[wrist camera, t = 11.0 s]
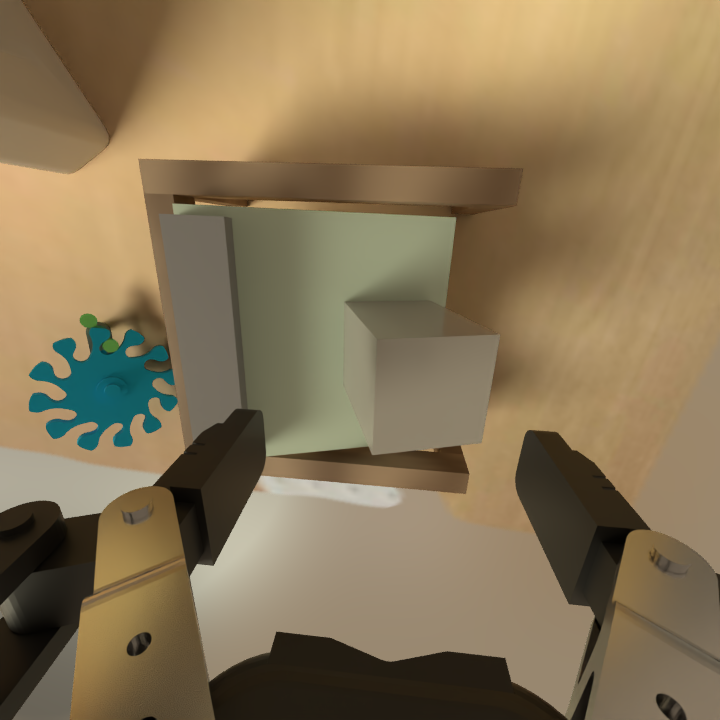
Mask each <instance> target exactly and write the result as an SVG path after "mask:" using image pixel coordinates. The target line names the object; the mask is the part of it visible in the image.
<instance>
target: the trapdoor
mask: <svg viewBox="0 0 720 720" xmlns="http://www.w3.org/2000/svg"><path fill="white" fill-rule="evenodd" d="M172 205H173V212H174V214H159V219H160V226H161V232H162V239H163V245H164V252H165V259H166V265H167V272H168V278H169V285H170V292H171V298H172V305H173V311H174V318H175V325H176V331H177V338H178V344H179V351H180V358H181V364H182V371H183V377H184V384H185V391H186V397H187V404H188V410H189V417H190V424H191V430H192V437H193V441H194V440H195V439H196V438H197V437H198V436H199V435H200V434H201V433H202V432H203V431H204V430H206V429H208V428H210V427H211V426H213V425H215V424H216V423H224V422H225V420H226V419H227V418H228V417H229V416H230V415H231V413H232V412H233V411H234V410H235V409H237V408H238V409H252V410H261V411H262V413H263V418H264V431H265V444H266V456H276V455H287V454H297V453H307V452H317V451H328V450H338V449H348V448H359V447H369V446H368V444H367V441H366V439H365V437H364V434H363V432H362V429H361V427H360V425H359V422H358V420H357V417H356V415H355V412H354V410H353V408H352V405H351V403H350V400H349V398H348V395H347V393H346V391H345V388H344V386H343V364H344V302H354V301H415V300H430V301H432V302H434V303H437V304H439V305H441V306H443V307H446V299H447V291H448V282H449V274H450V266H451V258H452V250H453V242H454V233H455V225H456V217H437V216H417V215H396V214H376V213H356V212H335V211H315V210H294V209H274V208H253V207H233V206H213V205H192V204H172Z"/></svg>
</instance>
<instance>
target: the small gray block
mask: <svg viewBox="0 0 720 720" xmlns="http://www.w3.org/2000/svg"><path fill="white" fill-rule="evenodd" d="M499 340H500V334H498V333H496V332H494V331H492V330H490V329H488V328H486V327H484V326H482V325H480V324H478V323H476V322H474V321H471V320H469V319H467V318H465V317H463V316H461V315H459V314H457V313H455V312H453V311H451V310H449V309H447V308H445V307H443V306H441V305H439V304H437V303H434V302H432V301H430V300H415V301H354V302H344V364H343V386H344V388H345V391H346V393H347V395H348V398H349V400H350V403H351V405H352V408H353V410H354V412H355V415H356V417H357V420H358V422H359V425H360V427H361V429H362V432H363V434H364V437H365V439H366V441H367V444H368V446H369V449H370V451H371V454H372V455H379V454H388V453H397V452H406V451H415V450H424V449H433V448H442V447H451V446H460V445H469V444H478V443H482V438H483V432H484V426H485V420H486V415H487V409H488V403H489V397H490V392H491V386H492V380H493V374H494V368H495V363H496V357H497V351H498V345H499Z"/></svg>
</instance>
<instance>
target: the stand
mask: <svg viewBox="0 0 720 720" xmlns="http://www.w3.org/2000/svg"><path fill="white" fill-rule="evenodd" d="M138 160H139V166H140V172H141V178H142V185H143V191H144V197H145V203H146V209H147V215H148V222H149V228H150V234H151V240H152V246H153V252H154V259H155V265H156V271H157V277H158V283H159V289H160V296H161V302H162V308H163V314H164V320H165V326H166V333H167V339H168V345H169V351H170V357H171V363H172V370H173V376H174V382H175V388H176V394H177V400H178V407H179V413H180V419H181V425H182V431H183V438H184V444H185V450H186V449H187V448H188V447H189V446H190V445H192V442H193V437H192V430H191V424H190V417H189V410H188V404H187V397H186V391H185V384H184V377H183V371H182V364H181V358H180V351H179V344H178V338H177V331H176V325H175V318H174V311H173V305H172V298H171V292H170V285H169V278H168V272H167V265H166V259H165V252H164V245H163V239H162V232H161V226H160V219H159V214H174V212H173V205H172V204H192V205H195V201H198V202H205V203H212V204H218V205H225V206H244V207H248V205H247V200H275V201H305V202H335V203H365V204H395V205H425V206H452V213H451V214H477V213H482V212H487V211H492V210H497V209H502V208H507V207H512V206H517V200H518V194H519V189H520V183H521V177H522V172H523V169H513V168H473V167H434V166H395V165H356V164H317V163H277V162H238V161H199V160H160V159H138ZM261 475H262V476H273V477H285V478H296V479H307V480H318V481H329V482H340V483H351V484H363V485H374V486H385V487H396V488H408V489H419V490H429V491H440V492H452V493H463V494H466V490H467V484H468V479H469V471H468V468H467V465H466V462H465V459H464V455H463V452H462V449H461V446H451V447H442V448H434V452H428V451H416V450H415V451H406V452H397V453H388V454H379V455H372V454H371V451H370V449H369V447H359V448H348V449H338V450H328V451H317V452H307V453H297V454H287V455H276V456H266V461H265V466H264V469H263V472H262V474H261Z"/></svg>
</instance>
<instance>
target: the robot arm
mask: <svg viewBox="0 0 720 720" xmlns="http://www.w3.org/2000/svg"><path fill="white" fill-rule="evenodd" d="M265 461H266V444H265V431H264V418H263V413H262V411H261V410H252V409H238V408H237V409H235V410H234V411H233V412H232V413H231V415H230V416H229V417H228V418H227V419H226V420H225V422H224V423H216V424H215V425H213V426H211V427H210V428H208V429H206V430H204V431H203V432H202V433H201V434H200V435H199V436H198V437H197V438H196V439H195V440H194V441H193V442H192V445H190V446H189V447H188V448H187V449H186V450H185V451H184V454H181V455H180V457H179V458H178V459H177V460H176V461H175V462H174V463H173V464H172V465H171V466H170V467H169V468H168V470H167V471H166V472H165V473H164V474H163V475H162V476H161V477H160V478H159V479H158V481H157V482H156V483H155V484H154V485H153V486H149V487H143V488H139V489H135V490H132V491H130V492H128V493H125V494H123V495H121V496H120V497H118V498H117V499H115V500H114V501H112V502H111V503H110V504H109V505H108V506H107V507H106V508H105V509H104V510H103V512H102V513H99V514H92V515H85V516H79V517H72V518H66V519H64V518H63V515H62V512H61V510H60V507H59V506H58V504H56V503H55V502H51V501H35V502H29V503H25V504H22V505H18V506H16V507H13V508H10V509H8V510H6V511H4V512H2V513H0V611H1V613H2V615H3V617H2V618H1V619H0V720H12V719H13V718H14V716H15V715H16V713H17V712H18V710H19V709H20V708H21V706H22V705H23V704H24V702H25V701H26V699H27V698H28V697H29V695H30V694H31V693H32V691H33V690H34V688H35V687H36V686H37V684H38V683H39V681H40V680H41V679H42V677H43V676H44V675H45V673H46V672H47V670H48V669H49V667H50V666H51V665H52V663H53V662H54V661H55V659H56V658H57V657H58V655H59V654H60V652H61V651H62V650H63V648H64V647H65V645H66V644H67V643H68V641H69V640H70V638H71V637H72V636H73V634H74V633H75V632H76V630H77V629H78V627H79V632H78V642H77V652H76V662H75V672H74V682H73V692H72V702H71V712H70V720H720V574H717V573H715V571H714V570H713V569H712V567H711V566H710V565H709V563H708V562H707V561H706V560H705V559H704V558H703V557H702V556H701V555H699V554H698V553H697V552H696V551H694V550H693V549H691V548H690V547H688V546H687V545H685V544H684V543H682V542H680V541H678V540H676V539H674V538H672V537H670V536H668V535H665V534H662V533H659V532H656V531H652V530H650V528H649V527H648V526H647V525H646V523H645V522H644V521H643V520H642V519H641V517H640V516H639V515H638V514H637V513H636V512H635V510H634V509H633V508H632V507H631V506H630V505H629V503H628V502H627V501H626V500H625V499H624V497H623V496H622V495H621V494H620V493H619V492H618V491H616V490H615V487H614V486H613V484H612V483H611V482H610V481H609V480H608V479H606V478H605V477H606V476H605V475H604V474H603V473H602V472H601V470H600V469H599V468H598V467H597V466H596V464H595V463H594V462H592V461H591V460H589V459H588V458H586V457H585V456H584V455H582V454H581V453H579V452H578V451H574V450H571V448H570V447H569V446H568V445H567V443H566V442H565V441H564V440H563V438H562V437H561V436H560V435H559V434H558V433H557V432H549V431H535V430H529V431H527V432H526V434H525V437H524V441H523V445H522V449H521V454H520V458H519V462H518V466H517V471H516V477H515V483H516V490H517V494H518V496H519V498H520V500H521V503H522V505H523V507H524V509H525V511H526V513H527V515H528V518H529V520H530V522H531V524H532V526H533V528H534V530H535V533H536V535H537V537H538V539H539V541H540V543H541V545H542V548H543V550H544V552H545V554H546V556H547V558H548V560H549V562H550V565H551V567H552V569H553V571H554V573H555V576H556V578H557V580H558V582H559V584H560V586H561V588H562V591H563V593H564V595H565V597H566V599H567V601H568V603H569V604H573V605H582V606H590V607H591V609H592V611H593V613H594V615H595V617H594V619H593V621H592V624H591V627H590V630H589V634H588V637H587V641H586V645H585V649H584V652H583V656H582V659H581V663H580V667H579V671H578V674H577V678H576V682H575V685H574V689H573V693H572V696H571V700H570V703H569V706H568V709H567V712H566V714H565V716H563V715H562V714H561V713H560V712H558V711H557V710H556V709H555V708H554V707H552V706H551V705H550V704H549V703H547V702H546V701H544V700H543V699H541V698H540V697H539V696H537V695H535V694H534V693H532V692H531V691H529V690H527V689H525V688H523V687H521V686H519V685H518V684H515V683H513V682H511V679H510V675H509V671H508V668H507V663H506V660H505V658H500V657H491V656H482V655H474V654H465V653H456V652H448V651H447V652H442V653H436V654H431V655H426V656H420V657H415V658H410V659H405V660H399V661H394V662H388V661H383V660H380V659H378V658H376V657H374V656H371V655H369V654H367V653H364V652H362V651H360V650H357V649H355V648H353V647H350V646H348V645H346V644H344V643H341V642H339V641H336V640H334V639H332V638H326V637H318V636H308V635H300V634H292V633H283V632H276V635H275V639H274V642H273V645H272V649H271V652H270V653H265V654H261V655H258V656H255V657H252V658H249V659H246V660H244V661H242V662H240V663H238V664H236V665H234V666H232V667H231V668H229V669H227V670H226V671H224V672H222V673H221V674H219V675H218V676H217V677H215V678H214V679H213V680H211V681H210V679H209V674H208V669H207V664H206V659H205V654H204V649H203V644H202V639H201V634H200V628H199V624H198V618H197V613H196V608H195V602H194V597H193V592H192V587H191V582H190V575H191V573H192V571H193V570H194V568H195V566H196V565H197V564H202V565H212V566H213V565H214V564H215V562H216V560H217V558H218V556H219V554H220V552H221V550H222V548H223V546H224V545H225V543H226V541H227V539H228V537H229V535H230V533H231V531H232V529H233V528H234V526H235V524H236V521H237V520H238V518H239V516H240V514H241V512H242V510H243V508H244V507H245V505H246V503H247V501H248V499H249V497H250V495H251V493H252V491H253V489H254V488H255V486H256V484H257V482H258V480H259V478H260V476H261V474H262V472H263V469H264V466H265Z"/></svg>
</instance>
